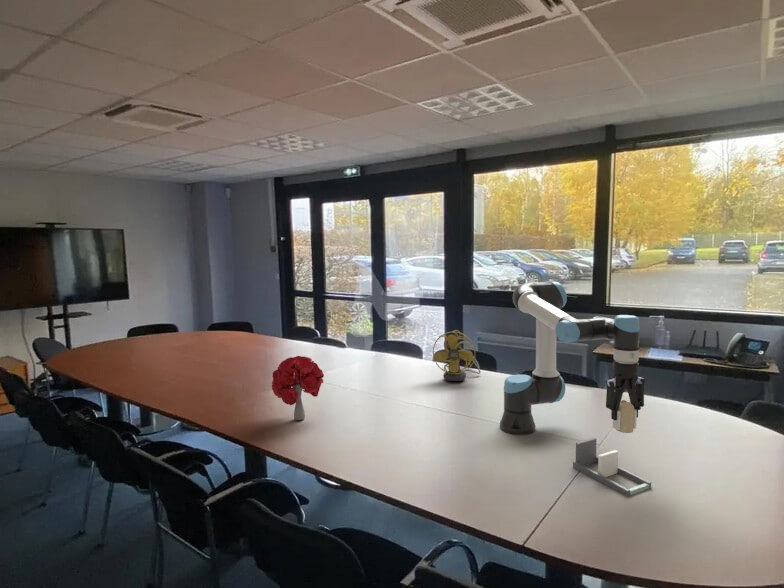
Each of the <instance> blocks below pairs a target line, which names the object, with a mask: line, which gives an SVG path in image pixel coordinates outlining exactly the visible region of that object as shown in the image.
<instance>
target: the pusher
mask: <svg viewBox="0 0 784 588" xmlns="http://www.w3.org/2000/svg"><path fill="white" fill-rule="evenodd" d="M597 456H598V463H597V473H599V474H601V475H603V476H605V477H607V478H608V477H611V476H613V475H617V474H618V473H617V470H618V466H619V465H618V464H619V451H618V450H616V449H614V450H611V451H607V452H604V453H600V454H598V455H597Z"/></svg>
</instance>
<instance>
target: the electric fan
mask: <svg viewBox="0 0 784 588" xmlns="http://www.w3.org/2000/svg"><path fill="white" fill-rule="evenodd" d="M450 333H452V334H450ZM447 334H449V335H448V336H447ZM458 334H459V335H458ZM441 338H445V339H444V341H443V348H444V350H442V351H437V352H435V351H434V350H435V346H436V345H437V342H438V341H439V339H441ZM465 339H468V340H469V341H468V340H467V341H466V340H465ZM458 340H460V341H458ZM461 340H463V341H461ZM461 344H465V345H467V346H468V347H469V348H473V350H474V354H473V352H472V351H471V350H467V349H463V348H462V346H461ZM432 357H433V362H434V363H435V365H436V366H437V367H438V368H439V369H440V370H442V371H443V372H444V373H443V375H442V376H443V379H444V380H446V381H450V382H451V381H452V382H460V381H464V380H465V379H466V377H467V373H466V372H470V373H474V374H477V375H481V370H480V368H481V367H480V365H479V361H478V360H477V358H476V348H475V344H474V342H473V340H472V339H470V337H469V336H467V335H466V334H464V333H462V332H460V330H458V329H455V330H453V331H447V332H445V333H443V334H441V335H439V336H438V338H437V339H436V340H435V342H434V343H433V347H432ZM461 360H463V361H465V365H464V367H463V368H462V369H461V366H460V361H461ZM439 362H440V363H442V362H445V363H446V364H444V366H443V368H442V367H440V365H439V364H438V363H439ZM473 365H475V367H477V371H475V370H472V369H471V368H472V366H473ZM446 367H447V368H448V369H447V368H446Z"/></svg>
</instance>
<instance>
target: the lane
mask: <svg viewBox="0 0 784 588" xmlns="http://www.w3.org/2000/svg"><path fill="white" fill-rule="evenodd" d="M594 463H597V464H598V455H597V438H596V437H591V438H588V439H584V440H580V441H576V442H575V461H572V468H574V469H576V470H578V471H579V472H582V473H583V474H586V475H587V476H589V477H590V478H593V479H594V480H597V482H600V483H602V484H604V485H605V486H608V487H610V488H611V489H613V490H615V491H617V492H619V493H621V494H623V496H626V497H629V496H632V495H634V494H637V493H640V492H643V491H645V489H646V490H648V489H650V488H652V482H651V481H649V480H648V479H645V478H644V477H642V476H640V475H637V474H635V473H633V472H631V471H629V470H627V469H625V468H623V467H622V466H619V465H618V470H617V474H619V475H621V476H623V477H625V478H627V479H629V480H630V481H633V482H634V483H635V482H636V483H637V484H638V485H636V486H633V487H630V488H627V487H625V486H623V485H621V484H620V483H618V482H616V481H614V480H612V479H610V478H608V477H605V476H603V475H601V474H599V473H598V471H596V470H593V469H591V468H589V467H587V466H588V465H592V464H594Z"/></svg>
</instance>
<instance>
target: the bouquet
mask: <svg viewBox="0 0 784 588" xmlns="http://www.w3.org/2000/svg"><path fill="white" fill-rule="evenodd" d="M324 377H325V374H324V372H323V369H321V368H320V367H319V366H318V363H316V362H315V361H314V360H313V359H312V358H311V357H307V356H301V355H297V356H290V357H287V358H285V359H284V360H283V361H281V363H279V364H278V366H277V369H275V370H273V372H272V381H271V389H272V392H273V394H274V395H275V396H276V397H277V398H278V399H281V401H282V402H283V403H284V404H285V405H289V406H294V410H293V419H294V420H296V421H300V420H304V419H305V418H306V412H305V408H304V405H303V401H302V392H303V393H306V394H309V395H311V396H313V397H315V398H317V397H318V396H319V392H320V389H321V387H322V384H323V383H324V379H323V378H324Z"/></svg>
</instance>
